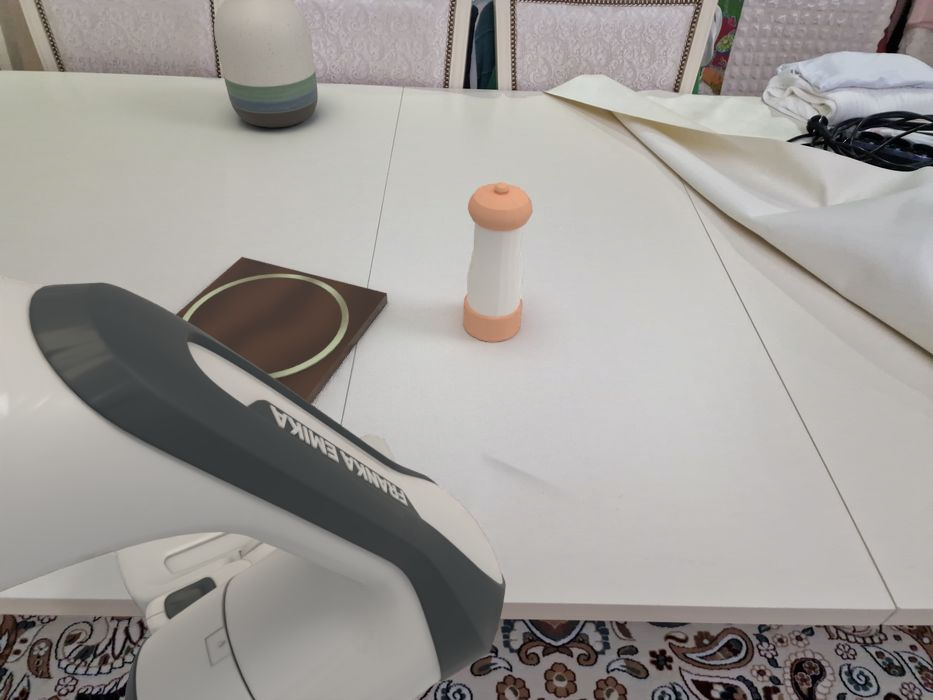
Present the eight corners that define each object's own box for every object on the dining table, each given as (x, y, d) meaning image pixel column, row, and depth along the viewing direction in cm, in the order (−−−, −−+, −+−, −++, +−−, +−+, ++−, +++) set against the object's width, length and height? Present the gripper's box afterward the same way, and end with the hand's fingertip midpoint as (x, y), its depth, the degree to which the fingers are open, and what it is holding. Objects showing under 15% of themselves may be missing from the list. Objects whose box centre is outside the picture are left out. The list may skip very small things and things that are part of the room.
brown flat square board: (129, 367, 70) (124, 356, 69) (244, 265, 85) (241, 255, 84) (298, 421, 65) (295, 410, 64) (387, 302, 80) (387, 291, 79)
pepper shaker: (504, 349, 74) (518, 208, 61) (452, 329, 77) (454, 189, 64) (529, 317, 79) (547, 179, 66) (479, 298, 81) (487, 162, 68)
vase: (332, 105, 129) (316, -27, 112) (304, 138, 116) (282, -4, 100) (254, 99, 130) (228, -32, 114) (219, 131, 118) (184, -11, 102)
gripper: (433, 501, 43) (361, 378, 52) (118, 640, 36) (96, 468, 45) (433, 548, 48) (366, 427, 56) (152, 681, 40) (125, 516, 49)
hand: (245, 445), depth 50 cm, fingers closed on beverage can, 5 cm apart
